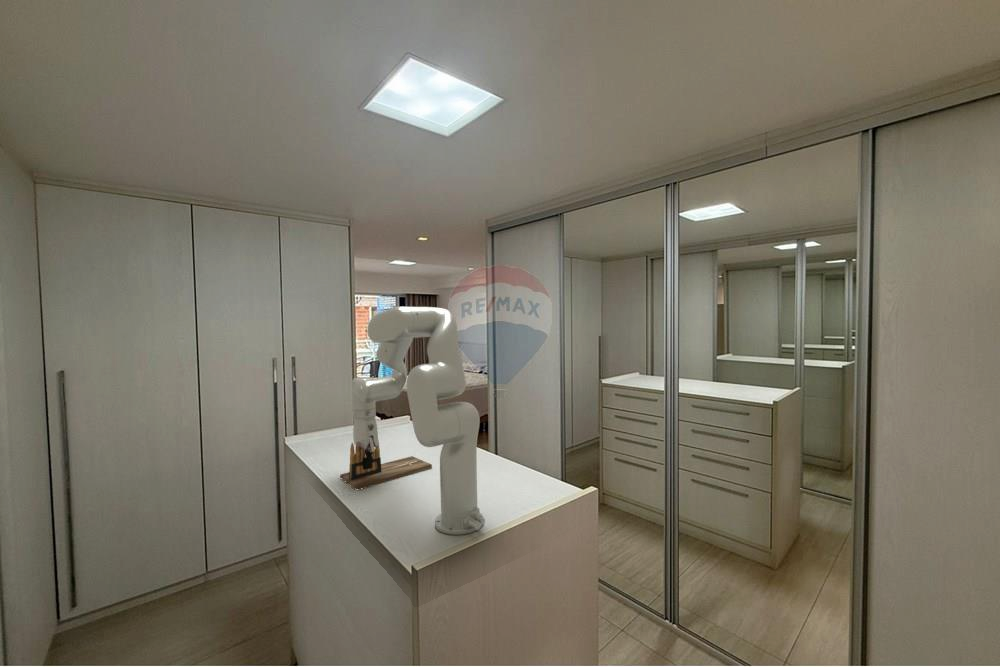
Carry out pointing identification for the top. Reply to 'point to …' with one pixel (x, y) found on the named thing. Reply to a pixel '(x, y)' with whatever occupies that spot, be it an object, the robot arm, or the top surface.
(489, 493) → the top surface
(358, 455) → the ammunition clip
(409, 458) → the walnut board
